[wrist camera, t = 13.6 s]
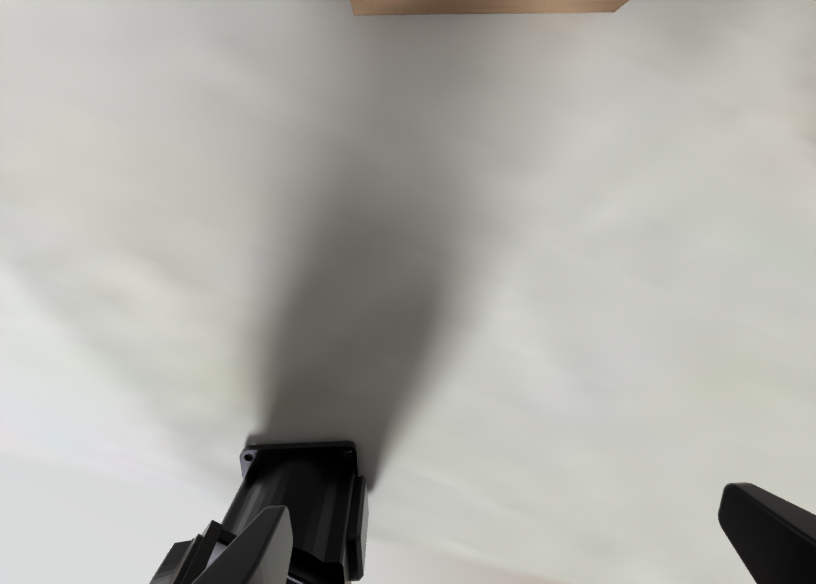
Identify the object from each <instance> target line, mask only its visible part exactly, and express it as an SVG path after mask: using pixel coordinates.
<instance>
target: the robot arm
mask: <svg viewBox="0 0 816 584" xmlns="http://www.w3.org/2000/svg"><path fill="white" fill-rule="evenodd" d="M345 450H351V451H352V452H350V453H347V452H346V451H345ZM247 454H251V455H252V456H253V457H250V456H248V455H247ZM240 463H241V469H242V476H243V482H242V484H241V486H240V488H239V490H238V492H237V494H236V496H235V498H234V500H233V502H232V504H231V506H230V507H229V509H228V512H227V513H226V515H225V517H224V519H223V521H222V523H221V524H220V523H217V522H215V521H213V520H212V521H211V522H210V524H209V525H208V526H207V528H206V529H205V530H204V532H203V533H202V535H200V534H198V535H197V536H196V537H195V539H194V538H193V539H192V540H190V541H184V542H178V543H175V544H174V545H173V547H172V548H171V549H170V551H169V552H168V554H167V556H166V557H165V559H164V560H163V562H162V564H161V565H160V567H159V568H158V570H157V572H156V573H155V575H154V577H153V578H152V580H151V581H150V583H149V584H351V581H359V580H360V579H361V578H362V577H363V575H364V563H365V550H366V538H367V526H368V497H367V480H366V478H365V477H364V476H359V464H358V449H357V446H356V444H355V443H353V442H350V441H344V442H320V443H296V444H272V445H250V446H246V447H245V448H244V449H243V451H242V452H241V454H240ZM718 520H719V523H720V525H721V528H722V529H723V531H724V533H725V534H726V536H727V537H728V539H729V541H730V542H731V544H732V545H733V547H734V548H735V550H736V552H737V553H738V555H739V556H740V558H741V560H742V561H743V563H744V564H745V566H746V567H747V569H748V571H749V572H750V574H751V575H752V577H753V578H754V580H755V582H756V583H757V584H816V515H814V514H812V513H810V512H808V511H806V510H804V509H802V508H800V507H798V506H796V505H794V504H792V503H790V502H788V501H786V500H784V499H782V498H780V497H778V496H776V495H774V494H772V493H770V492H768V491H766V490H764V489H762V488H759V487H757V486H755V485H753V484H751V483H729V484H727V485H726V486H725V487H724V490H723V494H722V498H721V503H720V507H719V511H718Z"/></svg>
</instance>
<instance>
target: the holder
mask: <svg viewBox="0 0 816 584" xmlns="http://www.w3.org/2000/svg"><path fill="white" fill-rule="evenodd" d="M628 1H629V0H351V5H352V9H353V13H354V15H391V14H482V13H574V12H615V11H616V10H618V9H619V8H620V7H621V6H623V5H624V4H625V3H626V2H628Z"/></svg>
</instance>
